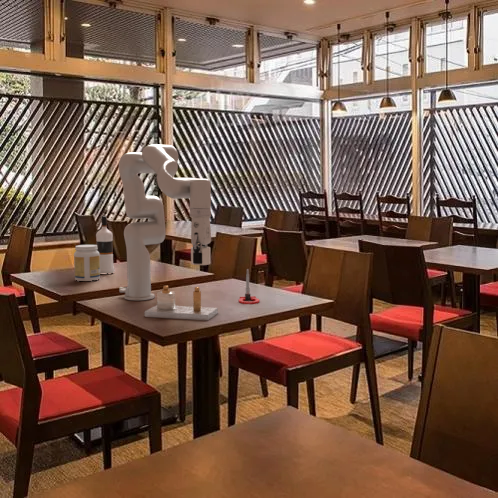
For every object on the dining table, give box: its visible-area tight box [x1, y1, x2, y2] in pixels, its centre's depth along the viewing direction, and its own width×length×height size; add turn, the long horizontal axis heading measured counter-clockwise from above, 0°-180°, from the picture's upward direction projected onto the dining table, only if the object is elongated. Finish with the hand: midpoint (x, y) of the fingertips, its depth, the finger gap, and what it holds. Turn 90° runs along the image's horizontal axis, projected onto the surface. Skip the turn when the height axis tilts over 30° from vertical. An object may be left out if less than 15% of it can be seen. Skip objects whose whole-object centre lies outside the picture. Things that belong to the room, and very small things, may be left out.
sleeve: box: [190, 246, 211, 266], centre depth 229 cm, size 7×7×6 cm
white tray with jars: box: [144, 285, 219, 321], centre depth 231 cm, size 24×12×10 cm, turn 76°
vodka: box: [95, 215, 115, 274], centre depth 327 cm, size 9×9×30 cm
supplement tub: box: [73, 244, 101, 282], centre depth 307 cm, size 12×12×17 cm
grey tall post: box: [238, 268, 260, 305], centre depth 255 cm, size 8×13×9 cm
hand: (200, 261), depth 229 cm, fingers closed on sleeve, 6 cm apart
